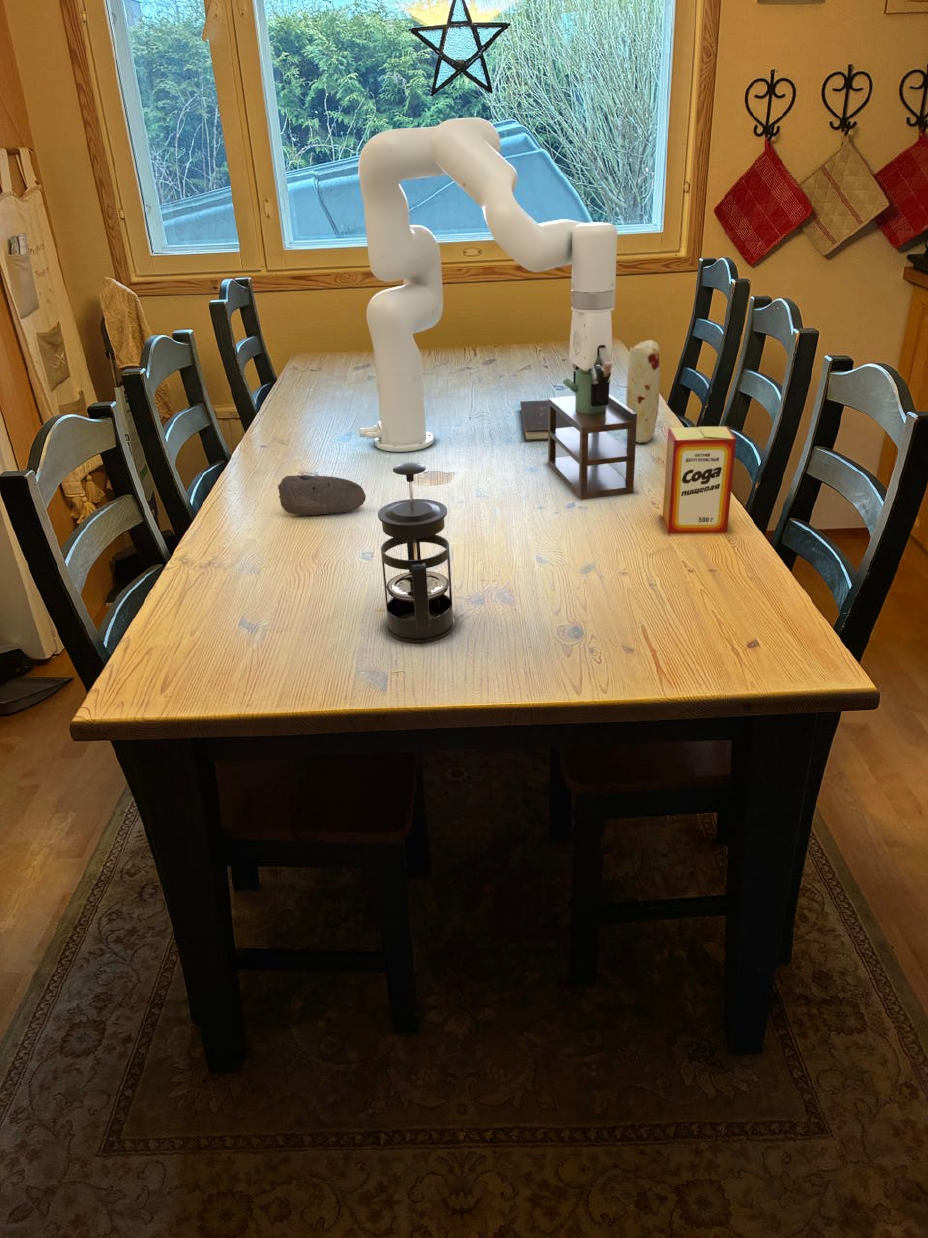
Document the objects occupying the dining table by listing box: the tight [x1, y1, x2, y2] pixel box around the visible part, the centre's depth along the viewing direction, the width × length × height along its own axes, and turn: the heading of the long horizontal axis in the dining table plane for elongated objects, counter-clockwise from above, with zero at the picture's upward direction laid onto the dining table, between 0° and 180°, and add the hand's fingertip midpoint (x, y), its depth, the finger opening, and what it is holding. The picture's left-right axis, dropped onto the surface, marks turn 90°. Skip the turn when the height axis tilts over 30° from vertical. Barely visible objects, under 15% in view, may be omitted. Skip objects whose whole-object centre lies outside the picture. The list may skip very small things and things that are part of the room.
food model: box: [625, 339, 661, 444], centre depth 192 cm, size 10×7×20 cm
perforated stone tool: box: [277, 474, 367, 516], centre depth 166 cm, size 15×5×7 cm, turn 89°
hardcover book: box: [519, 399, 574, 442], centre depth 208 cm, size 16×23×2 cm
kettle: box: [562, 365, 606, 414], centre depth 169 cm, size 8×6×9 cm
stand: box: [547, 393, 637, 500], centre depth 174 cm, size 10×20×15 cm, turn 12°
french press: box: [377, 462, 456, 644], centre depth 123 cm, size 12×9×23 cm
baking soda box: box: [662, 425, 737, 534], centre depth 152 cm, size 10×6×16 cm
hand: (590, 398), depth 170 cm, fingers open, 9 cm apart
